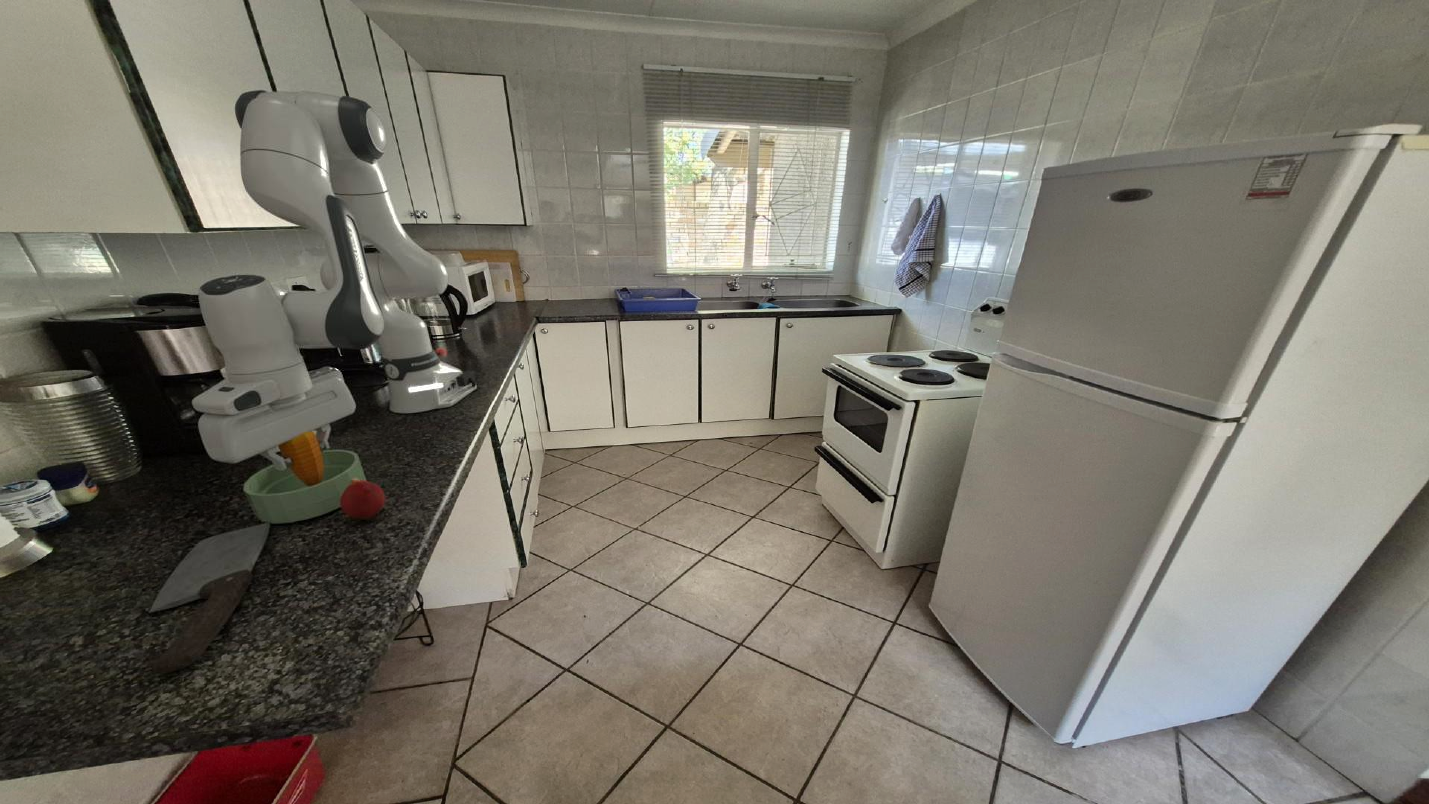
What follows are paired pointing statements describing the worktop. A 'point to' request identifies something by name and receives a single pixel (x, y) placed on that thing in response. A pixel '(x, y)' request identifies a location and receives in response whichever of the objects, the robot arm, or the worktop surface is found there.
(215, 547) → the cleaver
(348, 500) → the onion
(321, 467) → the carrot
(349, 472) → the bowl
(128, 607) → the worktop surface
